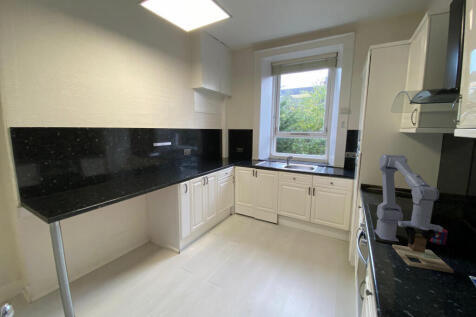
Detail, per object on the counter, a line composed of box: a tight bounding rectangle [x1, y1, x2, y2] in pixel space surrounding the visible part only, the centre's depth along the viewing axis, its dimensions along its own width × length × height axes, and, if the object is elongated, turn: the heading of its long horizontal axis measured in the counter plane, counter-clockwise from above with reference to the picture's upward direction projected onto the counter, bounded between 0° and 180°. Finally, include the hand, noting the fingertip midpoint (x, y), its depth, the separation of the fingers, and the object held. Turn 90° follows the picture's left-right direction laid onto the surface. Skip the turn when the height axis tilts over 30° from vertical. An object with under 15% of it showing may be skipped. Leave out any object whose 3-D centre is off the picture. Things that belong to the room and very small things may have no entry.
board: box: [391, 244, 454, 274], centre depth 86 cm, size 14×15×2 cm
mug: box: [429, 228, 449, 246], centre depth 101 cm, size 7×10×7 cm
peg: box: [407, 233, 427, 253], centre depth 83 cm, size 4×4×6 cm
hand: (416, 244), depth 83 cm, fingers closed on peg, 4 cm apart
